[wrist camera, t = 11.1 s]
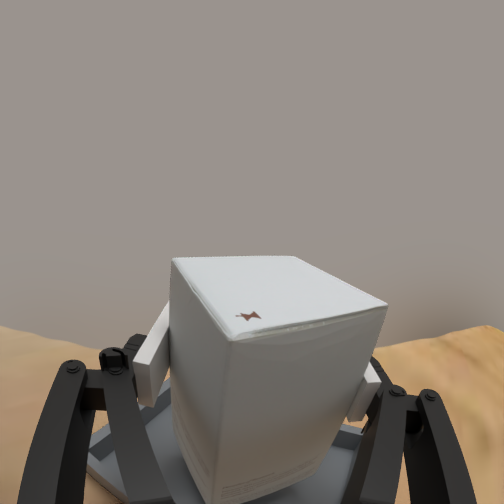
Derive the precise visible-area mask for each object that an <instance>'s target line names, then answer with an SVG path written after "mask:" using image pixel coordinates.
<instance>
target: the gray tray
mask: <svg viewBox="0 0 504 504" xmlns="http://www.w3.org/2000/svg"><path fill="white" fill-rule="evenodd" d="M138 405H139V409H140V412H141V415H142V419H143V422H144V425H145V428H146V431H147V435H148V438H149V440H150V443H151V446H152V449H153V452H154V455H155V457H156V460H157V463H158V465H159V468H160V470H161V473H162V475H163V478H164V480H165V483H166V485H167V487H168V490H169V492H170V494H171V496H172V498H173V500H174V502H175V503H176V504H206V503H205V501H204V499H203V497H202V496H201V494H200V492H199V490H198V488H197V486H196V484H195V481H194V479H193V477H192V475H191V473H190V471H189V469H188V466H187V464H186V462H185V460H184V457H183V455H182V453H181V450H180V448H179V445H178V443H177V440H176V437H175V435H174V432H173V425H172V406H171V387H170V378H169V379H167V380H166V381H165V382H163V384H162V387H161V389H160V392H159V395H158V397H157V400H156V403H155V405H154V408H152V407H148V406H144V405H140V404H138ZM361 431H362V428H357V427H353V426H349V425H345V424H342V425H341V427H340V429H339V431H338V433H337V435H336V437H335V439H334V441H333V443H332V445H331V446H330V448H329V450H328V452H327V454H326V456H325V457H324V459H323V460H322V462H321V464H320V466H319V467H318V469H317V471H316V473H315V474H314V475H312V476H310V477H308V478H306V479H304V480H301V481H299V482H297V483H295V484H292V485H290V486H288V487H285V488H283V489H280V490H278V491H276V492H273V493H270V494H268V495H265V496H262V497H259V498H257V499H254V500H251V501H247V502H244V503H241V504H340V503H341V501H342V498H343V496H344V493H345V490H346V487H347V485H348V482H349V479H350V476H351V473H352V470H353V467H354V464H355V460H356V457H357V454H358V450H359V447H360V443H361V440H362V436H363V433H362V434H361ZM86 472H87V473H89V474H90V475H91V476H92V477H93V478H94V479H95V480H96V481H97V482H99V483H100V484H101V485H102V486H103V487H104V488H106V489H107V490H108V491H109V492H111V493H112V494H113V495H114V496H116V497H117V498H118V499H119V500H121V501H122V502H123V503H125V504H130V503H129V500H128V497H127V494H126V491H125V488H124V484H123V481H122V477H121V474H120V470H119V466H118V463H117V459H116V454H115V450H114V446H113V441H112V436H111V431H110V426H109V423H108V424H107V425H105V426H104V427H103V428H101V429H100V430H98V431H97V432H95V433H94V434H93V435H91V440H90V446H89V453H88V460H87V468H86Z"/></svg>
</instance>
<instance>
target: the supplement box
mask: <svg viewBox="0 0 504 504" xmlns="http://www.w3.org/2000/svg"><path fill="white" fill-rule="evenodd" d="M387 309H388V304H387V303H385V302H383V301H381V300H379V299H377V298H375V297H373V296H371V295H369V294H367V293H365V292H363V291H361V290H359V289H357V288H355V287H353V286H351V285H349V284H347V283H345V282H343V281H342V280H340V279H337V278H336V277H334V276H332V275H330V274H328V273H326V272H324V271H322V270H320V269H318V268H316V267H314V266H312V265H310V264H308V263H306V262H304V261H302V260H300V259H298V258H297V257H295V256H232V257H191V258H190V257H188V258H187V257H184V258H173V259H172V263H171V278H170V296H169V361H170V387H171V406H172V425H173V432H174V435H175V437H176V440H177V443H178V445H179V448H180V450H181V453H182V455H183V457H184V460H185V462H186V464H187V466H188V469H189V471H190V473H191V475H192V477H193V479H194V481H195V484H196V486H197V488H198V490H199V492H200V494H201V496H202V497H203V499H204V501H205V503H206V504H241V503H244V502H247V501H251V500H254V499H257V498H259V497H262V496H265V495H268V494H270V493H273V492H276V491H278V490H280V489H283V488H285V487H288V486H290V485H292V484H295V483H297V482H299V481H301V480H304V479H306V478H308V477H310V476H312V475H314V474H315V473H316V471H317V469H318V467H319V466H320V464H321V462H322V460H323V459H324V457H325V456H326V454H327V452H328V450H329V448H330V446H331V445H332V443H333V441H334V439H335V437H336V435H337V433H338V431H339V429H340V427H341V425H342V423H343V421H344V419H345V417H346V415H347V413H348V411H349V409H350V407H351V404H352V402H353V400H354V398H355V396H356V394H357V391H358V389H359V386H360V384H361V382H362V379H363V377H364V374H365V372H366V369H367V367H368V364H369V361H370V359H371V356H372V354H373V351H374V348H375V345H376V343H377V340H378V337H379V333H380V331H381V327H382V325H383V322H384V319H385V315H386V312H387Z"/></svg>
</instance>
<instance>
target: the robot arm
mask: <svg viewBox="0 0 504 504" xmlns="http://www.w3.org/2000/svg"><path fill="white" fill-rule="evenodd" d="M99 360H100V365H101V370H92V369H86V366H85V364H84V363H83V362H81V361H79V360H68V361H66V362H64V363H62V365H61V366H60V368H59V371H58V373H57V375H56V378H55V380H54V382H53V385H52V387H51V390H50V392H49V395H48V397H47V400H46V402H45V405H44V408H43V410H42V413H41V416H40V419H39V422H38V425H37V428H36V431H35V434H34V437H33V440H32V443H31V447H30V450H29V454H28V457H27V461H26V465H25V468H24V473H23V477H22V481H21V486H20V490H19V495H18V501H17V504H83V500H84V487H85V477H86V468H87V460H88V453H89V446H90V440H91V434H92V428H93V422H94V417H95V412H96V410H103V411H107V415H108V421H109V426H110V431H111V436H112V441H113V446H114V450H115V454H116V459H117V463H118V466H119V470H120V474H121V477H122V481H123V484H124V488H125V491H126V494H127V497H128V500H129V503H130V504H176V503H175V502H174V500H173V498H172V496H171V494H170V492H169V490H168V487H167V485H166V483H165V480H164V478H163V475H162V473H161V470H160V468H159V465H158V463H157V460H156V457H155V455H154V452H153V449H152V446H151V443H150V440H149V438H148V435H147V431H146V428H145V425H144V422H143V419H142V415H141V412H140V409H139V405H138V404H140V405H144V406H148V407H152V408H154V405H155V403H156V400H157V397H158V395H159V392H160V389H161V387H162V384H163V381H164V379H165V376H166V374H167V371H168V368H169V366H170V361H169V301H168V303H167V305H166V306H165V308H164V309H163V311H162V313H161V314H160V316H159V318H158V319H157V321H156V322H155V324H154V326H153V328H152V329H151V331H150V333H149V334H148V336H146V335H141V334H135V335H134V336H132V337H130V339H129V340H128V342H127V343H126V344H125V346H124V348H123V349H120V348H116V347H111V348H107V349H104V350H102V351H101V352H100V354H99ZM137 397H138V402H137ZM365 414H367V416H368V418H369V419H368V421H367V422H366V424H365V426H364V428H363V429H362V431H361V434H362V433H363V436H362V440H361V443H360V447H359V450H358V454H357V457H356V460H355V464H354V467H353V470H352V473H351V476H350V479H349V482H348V485H347V487H346V490H345V493H344V496H343V498H342V501H341V503H340V504H394V503H395V498H396V493H397V488H398V483H399V477H400V470H401V463H402V456H403V452H404V458H405V464H406V470H407V477H408V485H409V493H410V501H411V504H477V502H476V498H475V494H474V490H473V486H472V483H471V479H470V476H469V473H468V469H467V466H466V463H465V460H464V457H463V454H462V451H461V448H460V445H459V442H458V440H457V437H456V434H455V431H454V429H453V426H452V424H451V421H450V419H449V416H448V414H447V411H446V409H445V406H444V404H443V402H442V399H441V397H440V395H439V394H438V393H437V392H436V391H434V390H431V389H424V390H422V391H421V392H420V394H419V396H414V395H407V393H406V391H405V390H404V389H403V388H402V387H400V386H398V385H393V384H392V382H391V381H390V379H389V377H388V376H387V374H386V373H385V372H384V370H383V368H382V367H381V365H380V363H379V362H378V361H377V360H376V359H375V358H374V357H372V356H371V359H370V361H369V364H368V367H367V369H366V372H365V374H364V377H363V379H362V382H361V384H360V386H359V389H358V391H357V394H356V396H355V398H354V400H353V402H352V404H351V407H350V409H349V411H348V413H347V415H346V416H347V419H348V422H356V421H362V420H363V418H364V416H365Z"/></svg>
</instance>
